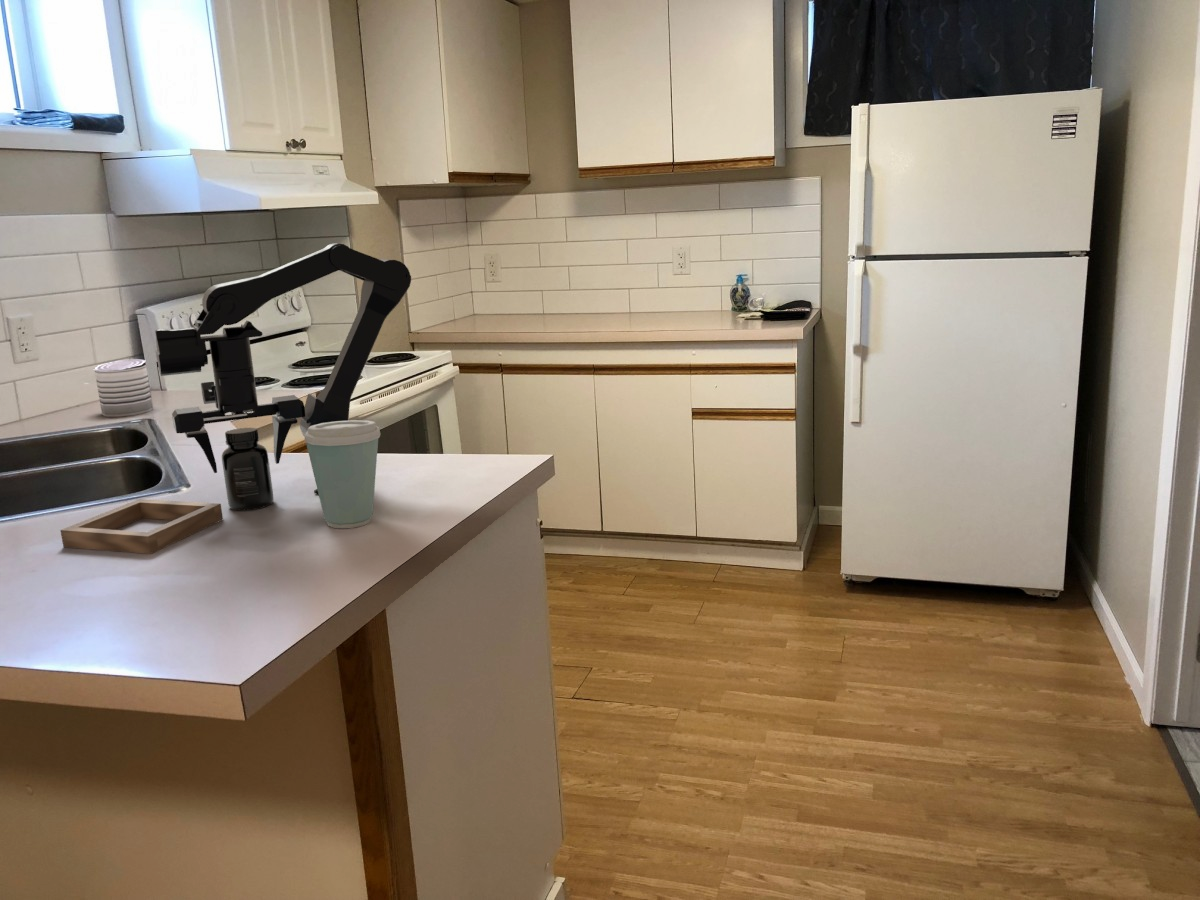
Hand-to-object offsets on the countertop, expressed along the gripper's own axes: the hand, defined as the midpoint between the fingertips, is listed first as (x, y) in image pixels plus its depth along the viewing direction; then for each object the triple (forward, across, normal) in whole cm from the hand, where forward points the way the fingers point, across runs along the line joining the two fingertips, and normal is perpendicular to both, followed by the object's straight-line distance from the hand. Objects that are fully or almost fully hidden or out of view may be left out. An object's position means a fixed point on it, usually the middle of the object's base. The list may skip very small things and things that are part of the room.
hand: (246, 467), depth 152 cm
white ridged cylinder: (+6, +13, -102) cm, 104 cm away
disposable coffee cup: (+6, -11, +18) cm, 22 cm away
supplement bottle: (+6, 0, 0) cm, 6 cm away
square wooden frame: (+6, +16, +6) cm, 18 cm away
